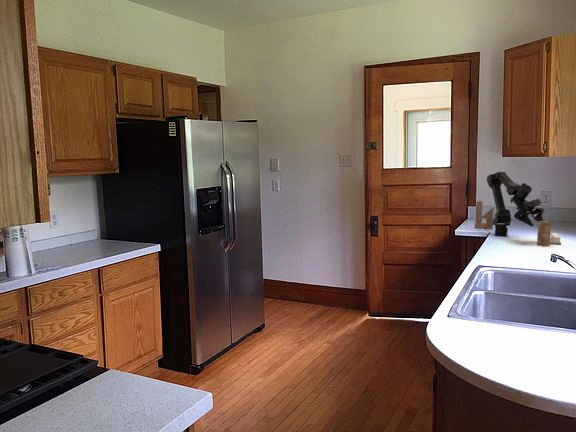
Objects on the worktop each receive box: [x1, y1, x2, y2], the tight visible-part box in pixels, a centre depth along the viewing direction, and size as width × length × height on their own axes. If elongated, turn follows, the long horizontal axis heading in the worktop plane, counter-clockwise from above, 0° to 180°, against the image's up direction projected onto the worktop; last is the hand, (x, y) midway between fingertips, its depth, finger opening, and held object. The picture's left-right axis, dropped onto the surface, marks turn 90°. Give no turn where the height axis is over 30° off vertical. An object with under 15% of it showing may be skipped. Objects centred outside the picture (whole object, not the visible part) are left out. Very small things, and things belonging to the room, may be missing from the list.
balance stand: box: [550, 232, 562, 246], centre depth 280 cm, size 10×16×4 cm, turn 158°
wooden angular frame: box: [474, 200, 495, 230], centre depth 328 cm, size 4×11×18 cm, turn 56°
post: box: [536, 220, 552, 247], centre depth 269 cm, size 4×4×13 cm
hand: (538, 225), depth 271 cm, fingers open, 9 cm apart
